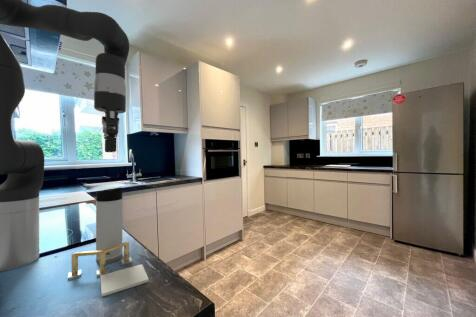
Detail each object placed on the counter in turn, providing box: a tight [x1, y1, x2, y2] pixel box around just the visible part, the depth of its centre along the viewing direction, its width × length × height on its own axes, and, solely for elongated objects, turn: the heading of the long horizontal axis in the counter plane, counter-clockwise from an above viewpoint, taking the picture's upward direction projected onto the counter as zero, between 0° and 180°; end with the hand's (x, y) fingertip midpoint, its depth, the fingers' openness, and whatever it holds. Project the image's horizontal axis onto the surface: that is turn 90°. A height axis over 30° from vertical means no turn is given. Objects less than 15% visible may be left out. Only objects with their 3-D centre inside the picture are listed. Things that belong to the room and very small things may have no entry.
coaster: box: [99, 263, 150, 298], centre depth 48 cm, size 9×8×1 cm
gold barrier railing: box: [67, 241, 133, 281], centre depth 51 cm, size 13×5×6 cm, turn 125°
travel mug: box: [95, 187, 123, 265], centre depth 58 cm, size 6×7×20 cm
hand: (110, 152), depth 57 cm, fingers open, 8 cm apart
